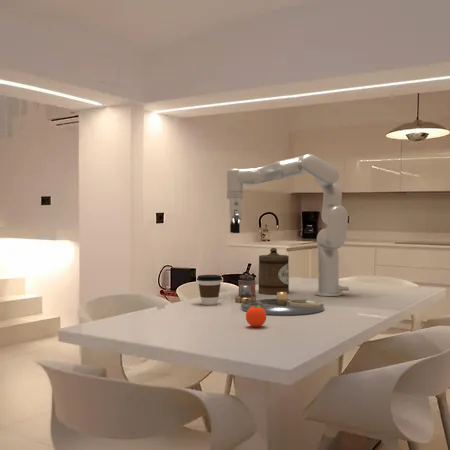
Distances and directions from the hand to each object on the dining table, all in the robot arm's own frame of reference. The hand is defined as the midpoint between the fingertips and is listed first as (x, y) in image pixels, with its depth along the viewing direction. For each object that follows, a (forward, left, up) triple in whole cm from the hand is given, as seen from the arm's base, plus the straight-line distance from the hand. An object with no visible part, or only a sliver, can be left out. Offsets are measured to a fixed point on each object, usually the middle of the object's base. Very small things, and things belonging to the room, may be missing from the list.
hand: (234, 232), depth 251 cm
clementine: (+1, +68, -30) cm, 75 cm away
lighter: (-6, -3, -30) cm, 31 cm away
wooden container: (-21, -15, -30) cm, 39 cm away
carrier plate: (-15, +33, -30) cm, 47 cm away
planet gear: (-3, +13, -30) cm, 33 cm away
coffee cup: (+13, +17, -30) cm, 37 cm away
